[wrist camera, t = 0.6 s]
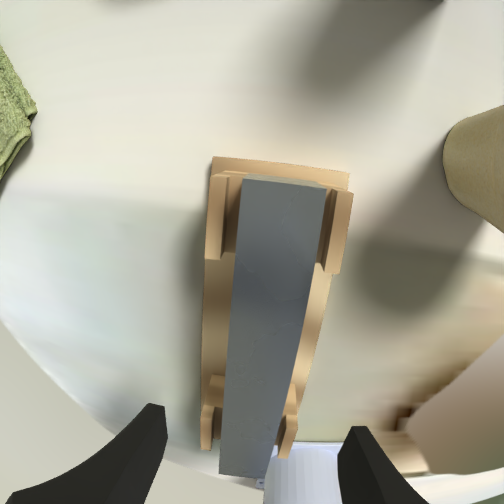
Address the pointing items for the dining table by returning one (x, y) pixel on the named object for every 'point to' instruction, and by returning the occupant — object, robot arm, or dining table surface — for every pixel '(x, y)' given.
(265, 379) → the rail
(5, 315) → the dining table surface
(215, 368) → the tan piece
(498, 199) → the flower pot
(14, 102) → the washcloth
